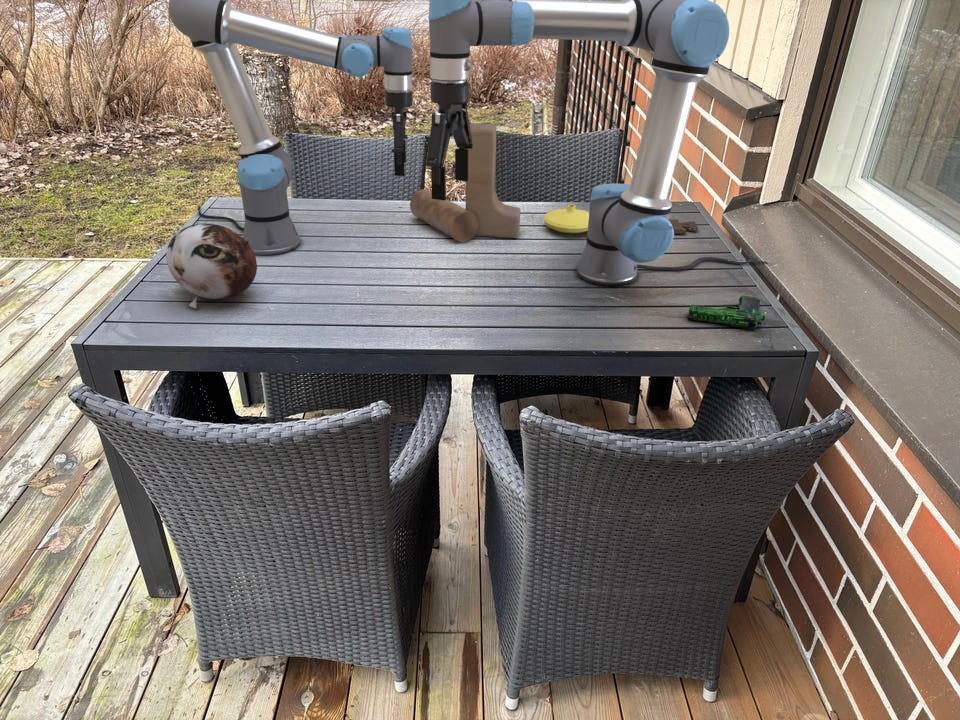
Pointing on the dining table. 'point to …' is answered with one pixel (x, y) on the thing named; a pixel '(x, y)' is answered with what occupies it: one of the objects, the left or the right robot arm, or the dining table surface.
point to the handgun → (731, 314)
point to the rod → (444, 216)
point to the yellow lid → (567, 220)
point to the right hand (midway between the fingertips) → (450, 189)
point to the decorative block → (487, 187)
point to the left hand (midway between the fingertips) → (400, 168)
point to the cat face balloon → (211, 261)
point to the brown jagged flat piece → (682, 226)
